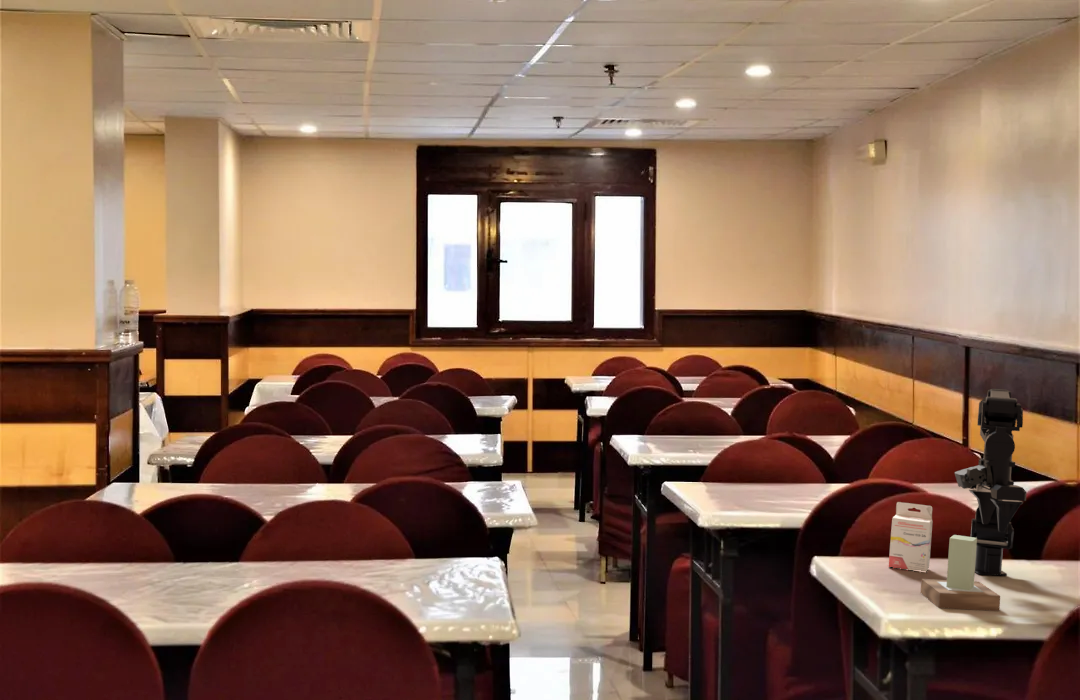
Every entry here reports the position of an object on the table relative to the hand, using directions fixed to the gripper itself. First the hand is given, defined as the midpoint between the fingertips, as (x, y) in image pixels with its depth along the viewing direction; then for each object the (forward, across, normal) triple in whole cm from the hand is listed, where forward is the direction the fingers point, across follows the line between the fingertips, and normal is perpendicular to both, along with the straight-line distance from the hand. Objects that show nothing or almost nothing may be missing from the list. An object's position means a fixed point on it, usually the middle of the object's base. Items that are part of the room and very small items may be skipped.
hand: (993, 527), depth 261 cm
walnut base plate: (+13, +14, -11) cm, 22 cm away
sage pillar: (+10, +14, -11) cm, 21 cm away
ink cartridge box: (+13, -16, -13) cm, 24 cm away
